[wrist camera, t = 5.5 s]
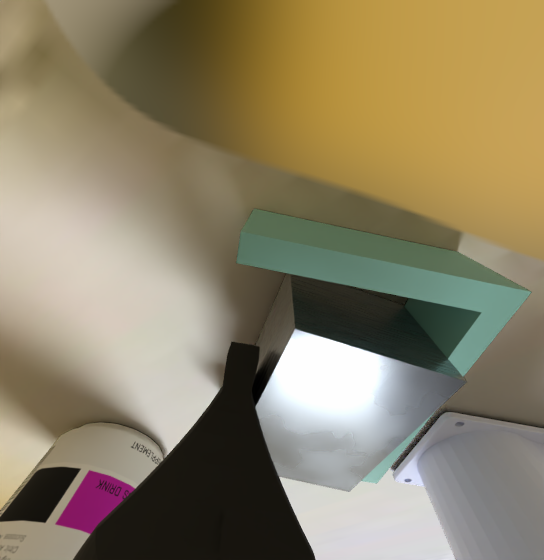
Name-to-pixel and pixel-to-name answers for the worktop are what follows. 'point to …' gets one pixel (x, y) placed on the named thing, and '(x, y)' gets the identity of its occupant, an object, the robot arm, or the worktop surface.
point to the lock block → (343, 381)
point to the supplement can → (74, 490)
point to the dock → (392, 283)
